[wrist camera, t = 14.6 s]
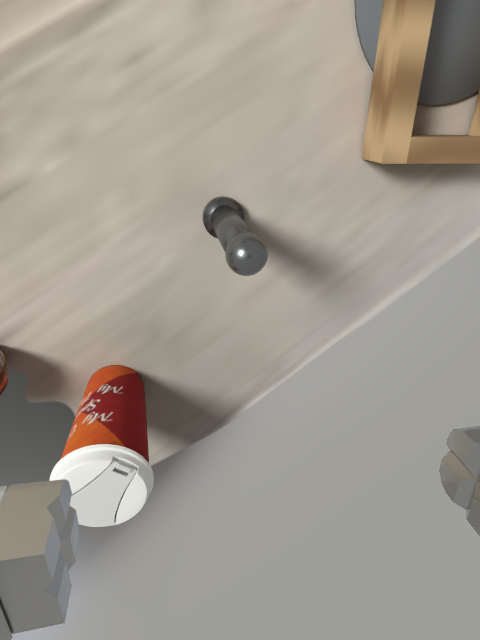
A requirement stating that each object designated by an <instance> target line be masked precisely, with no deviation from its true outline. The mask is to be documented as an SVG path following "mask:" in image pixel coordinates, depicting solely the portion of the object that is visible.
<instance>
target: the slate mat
mask: <svg viewBox="0 0 480 640" xmlns="http://www.w3.org/2000/svg"><path fill="white" fill-rule="evenodd" d="M382 7H383V0H355V18H356V25H357V32H358V36H359V40H360V44H361V47H362V50H363V53H364V55H365V58H366V60H367V62H368V64H369V66H370V67H371V69H372V71H373V72H374V66H375V59H376V51H377V44H378V36H379V29H380V22H381V14H382ZM479 89H480V0H436V1H435V7H434V12H433V18H432V23H431V29H430V35H429V40H428V46H427V51H426V57H425V62H424V68H423V74H422V79H421V85H420V90H419V96H418V101H417V104H424V105H442V104H447V103H452V102H456V101H458V100H461V99H464V98H466V97H468V96H470V95H472V94H474V93H476V92H477V91H479Z"/></svg>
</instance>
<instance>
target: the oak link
mask: <svg viewBox="0 0 480 640" xmlns="http://www.w3.org/2000/svg"><path fill="white" fill-rule="evenodd" d="M435 1H436V0H383V7H382V14H381V22H380V29H379V36H378V44H377V51H376V59H375V66H374V73H373V81H372V88H371V96H370V103H369V110H368V118H367V125H366V133H365V140H364V147H363V155H362V159H365V160H369V161H373V162H378V163H382V164H480V89H479V93H478V97H477V102H476V106H475V110H474V114H473V119H472V123H471V127H470V131H469V135H412V129H413V124H414V118H415V113H416V107H417V101H418V96H419V90H420V85H421V79H422V74H423V68H424V62H425V57H426V51H427V46H428V40H429V35H430V29H431V23H432V18H433V12H434V7H435Z"/></svg>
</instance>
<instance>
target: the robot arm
mask: <svg viewBox="0 0 480 640" xmlns="http://www.w3.org/2000/svg"><path fill="white" fill-rule="evenodd" d="M446 444H447V446H448V447H449V449H450V451H449V452H448V453H447V454H446V455H445V456H444V457H443V458H442V461H441V465H440V470H439V471H440V476H441V482H442V485H443V487H444V489H445V491H446V493H447V494H448V496H449V497H450V498H451V500H452V501H453V502H454V503H456V504H457V505H459V506H461V507H463V508H464V509H466V512H467V520H468V522H469V523H470V524H471V526H472V527H473V528H474V530H475V531H476V532H477V533H478V535H479V536H480V426H476V427H468V428H461V429H454V430H453V431H452V432H451V433H450V434H449V436H448V439H447V443H446ZM71 496H72V491H71V488H70V484H69V481H68V480H66V479H63V480H53V481H44V482H34V483H24V484H16V485H10V486H1V487H0V640H11V639H12V634H14V633H19V632H24V631H28V630H33V629H38V628H43V627H48V626H53V625H57V624H62V623H64V622H65V618H66V612H67V606H68V601H69V596H70V591H71V581H70V577H69V574H68V570H69V569H70V568H71V567H72V565H73V564H74V563H75V562H76V557H77V551H78V539H79V526H78V517H77V513H76V510H75V509H74V508H73V507H71V506H70V500H71Z"/></svg>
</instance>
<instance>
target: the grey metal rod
mask: <svg viewBox="0 0 480 640" xmlns="http://www.w3.org/2000/svg"><path fill="white" fill-rule="evenodd" d="M203 222H204V225H205V228H206V230H207V231H208V232H209V233H210V234H211V235H212V236H214V237H215V238H218V239H219V241H220V243H221V245H222V247H223V249H224V251H225V253H226V254H225V255H226V261H227V264H228V265H229V267H230V268H231V269H232V270H233V271H234V272H235V273H237V274H239V275H244V276H250V275H254V274H256V273H258V272H259V271H260V270H261V269H262V268H263V267H264V266H265V264H266V261H267V257H268V252H267V247H266V245H265V243H264V242H263V240H262V239H261V238H259V237H258V236H256V235H254V234H253V233H252V231H251V230H250V229H249V228H248V226H247V225H246V224H245V223H244V213H243V210H242V208H241V207H240V205H239V204H238V203H237V202H236V201H235V200H233V199H231V198H229V197H217V198H215V199H213V200H211V201H210V202H209V203H208V204H207V205H206V207H205V209H204V212H203Z"/></svg>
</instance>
